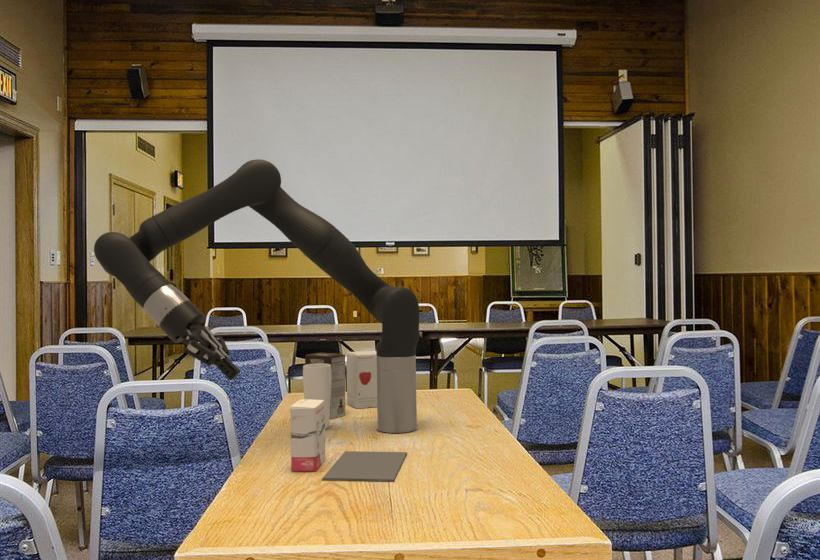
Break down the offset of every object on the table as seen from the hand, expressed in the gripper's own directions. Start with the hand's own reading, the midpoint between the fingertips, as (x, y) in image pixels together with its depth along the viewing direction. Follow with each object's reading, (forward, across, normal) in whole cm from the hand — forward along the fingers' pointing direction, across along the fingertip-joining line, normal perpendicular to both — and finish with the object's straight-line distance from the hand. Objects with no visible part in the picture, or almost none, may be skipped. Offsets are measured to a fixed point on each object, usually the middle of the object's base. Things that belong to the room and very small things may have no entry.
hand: (235, 376), depth 122 cm
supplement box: (+22, +61, +3) cm, 65 cm away
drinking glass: (+17, +31, +7) cm, 36 cm away
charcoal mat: (+30, 0, -6) cm, 30 cm away
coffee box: (+16, +46, +8) cm, 49 cm away
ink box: (+22, 0, +2) cm, 22 cm away
